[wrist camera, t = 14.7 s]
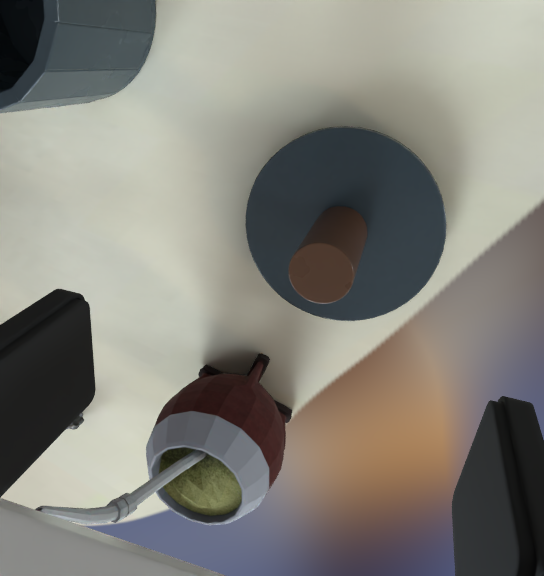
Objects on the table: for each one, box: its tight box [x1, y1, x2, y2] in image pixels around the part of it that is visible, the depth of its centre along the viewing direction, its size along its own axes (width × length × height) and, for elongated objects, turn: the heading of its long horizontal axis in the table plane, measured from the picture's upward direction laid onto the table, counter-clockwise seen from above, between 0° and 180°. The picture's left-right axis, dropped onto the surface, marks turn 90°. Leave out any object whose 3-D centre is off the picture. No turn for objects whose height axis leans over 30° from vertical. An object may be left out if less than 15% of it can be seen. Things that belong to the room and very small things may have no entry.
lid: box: [246, 126, 446, 321], centre depth 23 cm, size 10×10×7 cm
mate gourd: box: [35, 353, 292, 525], centre depth 25 cm, size 8×8×15 cm
